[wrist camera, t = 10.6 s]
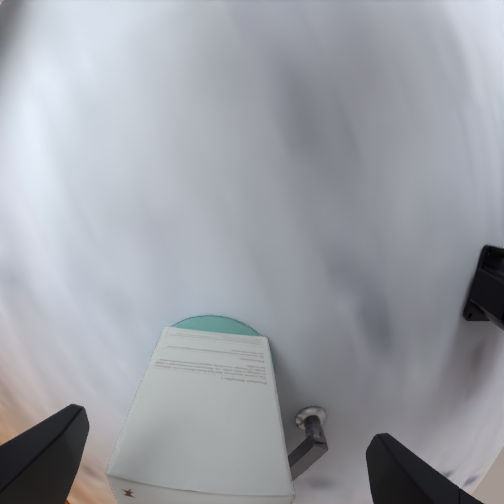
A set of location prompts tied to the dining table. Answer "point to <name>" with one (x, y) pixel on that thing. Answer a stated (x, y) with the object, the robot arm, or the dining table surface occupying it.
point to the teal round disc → (218, 326)
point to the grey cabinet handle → (308, 440)
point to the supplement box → (204, 425)
